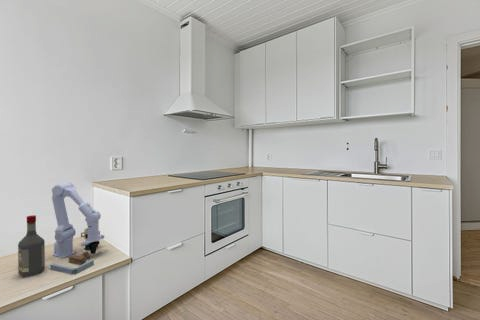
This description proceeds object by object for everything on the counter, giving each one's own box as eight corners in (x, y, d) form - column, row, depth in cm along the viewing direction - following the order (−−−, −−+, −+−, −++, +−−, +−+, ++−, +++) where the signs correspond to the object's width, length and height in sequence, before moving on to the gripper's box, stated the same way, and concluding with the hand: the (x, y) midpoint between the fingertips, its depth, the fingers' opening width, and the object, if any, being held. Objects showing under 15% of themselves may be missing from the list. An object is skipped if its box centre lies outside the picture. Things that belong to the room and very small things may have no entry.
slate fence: (50, 269, 125) (50, 264, 125) (71, 259, 136) (71, 255, 136) (73, 274, 120) (73, 270, 120) (93, 264, 131) (93, 260, 131)
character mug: (79, 251, 147) (79, 231, 146) (82, 247, 153) (82, 228, 153) (99, 249, 151) (99, 229, 151) (100, 245, 158) (100, 226, 157)
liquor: (39, 266, 127) (38, 213, 126) (46, 271, 123) (45, 215, 122) (17, 273, 119) (16, 216, 118) (23, 279, 115) (23, 219, 114)
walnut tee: (82, 256, 140) (82, 251, 140) (93, 258, 137) (93, 253, 137) (69, 262, 132) (68, 256, 132) (80, 265, 130) (80, 259, 129)
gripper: (87, 236, 133) (87, 259, 134) (108, 228, 147) (108, 249, 148) (78, 235, 135) (78, 257, 136) (99, 227, 149) (99, 248, 150)
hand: (93, 253), depth 142 cm, fingers closed
